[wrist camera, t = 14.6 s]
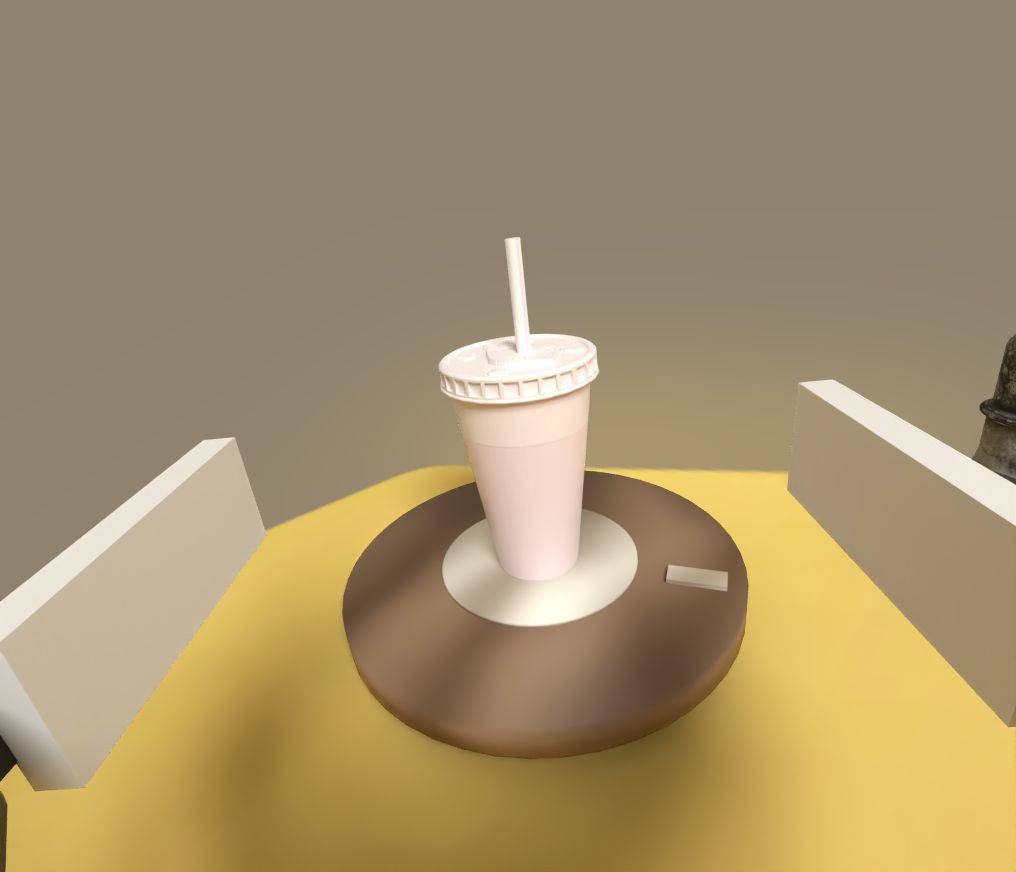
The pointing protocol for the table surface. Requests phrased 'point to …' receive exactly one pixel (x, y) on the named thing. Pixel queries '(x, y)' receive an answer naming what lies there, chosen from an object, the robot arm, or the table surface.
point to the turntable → (548, 623)
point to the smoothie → (526, 434)
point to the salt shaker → (1001, 420)
